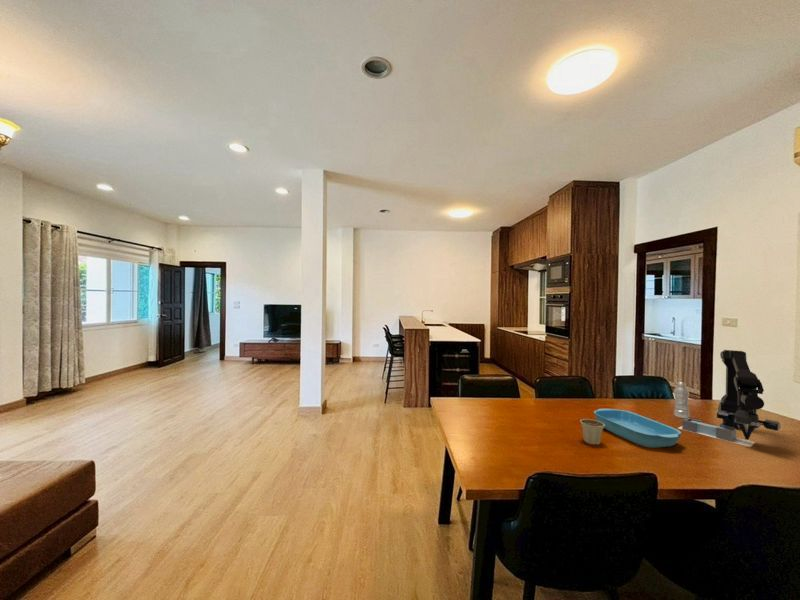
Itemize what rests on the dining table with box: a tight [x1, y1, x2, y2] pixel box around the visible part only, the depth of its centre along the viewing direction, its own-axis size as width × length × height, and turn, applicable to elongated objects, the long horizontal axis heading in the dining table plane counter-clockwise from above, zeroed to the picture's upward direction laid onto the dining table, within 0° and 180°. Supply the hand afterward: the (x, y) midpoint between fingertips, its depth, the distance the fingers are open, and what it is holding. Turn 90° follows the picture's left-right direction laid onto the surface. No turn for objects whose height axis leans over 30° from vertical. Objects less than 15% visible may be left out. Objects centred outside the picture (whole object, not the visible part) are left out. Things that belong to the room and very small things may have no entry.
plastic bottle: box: [673, 380, 691, 420], centre depth 179 cm, size 6×7×20 cm
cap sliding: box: [715, 425, 737, 442], centre depth 150 cm, size 7×5×4 cm
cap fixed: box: [681, 417, 702, 434], centre depth 160 cm, size 7×5×4 cm
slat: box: [691, 421, 730, 436], centre depth 155 cm, size 4×14×4 cm, turn 33°
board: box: [677, 425, 756, 448], centre depth 153 cm, size 9×25×1 cm, turn 34°
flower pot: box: [579, 418, 605, 445], centre depth 145 cm, size 9×9×9 cm
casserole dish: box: [593, 408, 682, 448], centre depth 154 cm, size 37×22×7 cm, turn 11°
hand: (747, 439), depth 144 cm, fingers closed
